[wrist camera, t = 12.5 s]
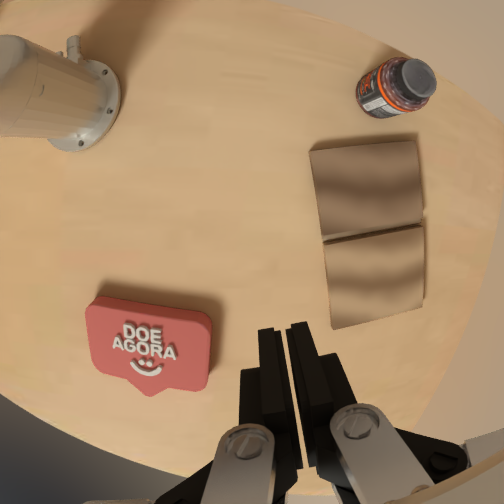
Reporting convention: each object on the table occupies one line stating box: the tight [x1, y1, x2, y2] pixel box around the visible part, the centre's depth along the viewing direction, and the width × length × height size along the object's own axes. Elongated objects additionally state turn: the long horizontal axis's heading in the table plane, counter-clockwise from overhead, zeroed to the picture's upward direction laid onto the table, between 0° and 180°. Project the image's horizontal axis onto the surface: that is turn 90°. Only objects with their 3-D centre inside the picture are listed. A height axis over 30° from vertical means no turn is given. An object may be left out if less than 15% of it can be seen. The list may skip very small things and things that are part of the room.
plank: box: [323, 225, 424, 330], centre depth 38 cm, size 12×14×1 cm
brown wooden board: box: [309, 141, 423, 241], centre depth 34 cm, size 11×14×1 cm
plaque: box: [85, 296, 212, 397], centre depth 40 cm, size 18×4×15 cm
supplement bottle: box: [356, 57, 437, 119], centre depth 26 cm, size 6×6×11 cm
